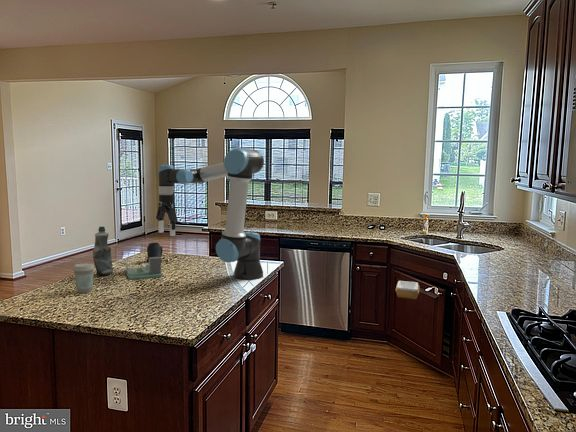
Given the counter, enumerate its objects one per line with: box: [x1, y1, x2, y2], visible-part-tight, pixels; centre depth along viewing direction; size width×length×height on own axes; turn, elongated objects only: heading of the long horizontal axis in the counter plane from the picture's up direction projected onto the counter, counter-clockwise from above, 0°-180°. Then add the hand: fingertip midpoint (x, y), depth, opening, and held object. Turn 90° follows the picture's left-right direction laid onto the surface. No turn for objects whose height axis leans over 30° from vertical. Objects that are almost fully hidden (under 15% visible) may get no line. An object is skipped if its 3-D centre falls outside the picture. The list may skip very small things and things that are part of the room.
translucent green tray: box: [124, 262, 164, 281], centre depth 218 cm, size 20×16×6 cm
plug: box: [149, 257, 162, 275], centre depth 216 cm, size 4×5×8 cm
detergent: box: [92, 225, 114, 276], centre depth 214 cm, size 13×7×25 cm, turn 164°
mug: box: [145, 242, 163, 264], centre depth 246 cm, size 12×9×11 cm
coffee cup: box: [72, 262, 96, 294], centre depth 186 cm, size 8×8×12 cm
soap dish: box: [395, 280, 420, 300], centre depth 188 cm, size 12×10×5 cm
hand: (166, 234), depth 225 cm, fingers open, 13 cm apart
